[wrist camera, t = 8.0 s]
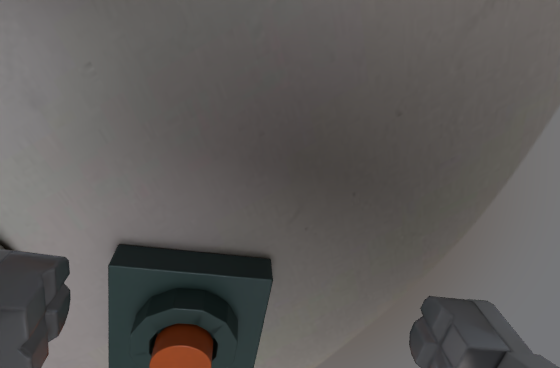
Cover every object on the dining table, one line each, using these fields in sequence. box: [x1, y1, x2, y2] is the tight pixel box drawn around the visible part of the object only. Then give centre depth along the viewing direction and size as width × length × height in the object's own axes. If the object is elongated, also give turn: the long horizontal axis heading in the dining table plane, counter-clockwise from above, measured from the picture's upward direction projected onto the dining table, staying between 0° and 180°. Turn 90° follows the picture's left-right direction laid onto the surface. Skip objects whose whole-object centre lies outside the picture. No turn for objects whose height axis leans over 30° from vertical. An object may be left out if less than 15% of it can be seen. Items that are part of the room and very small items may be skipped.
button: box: [149, 323, 213, 368], centre depth 24 cm, size 4×4×2 cm
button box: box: [108, 245, 273, 368], centre depth 26 cm, size 10×9×4 cm
